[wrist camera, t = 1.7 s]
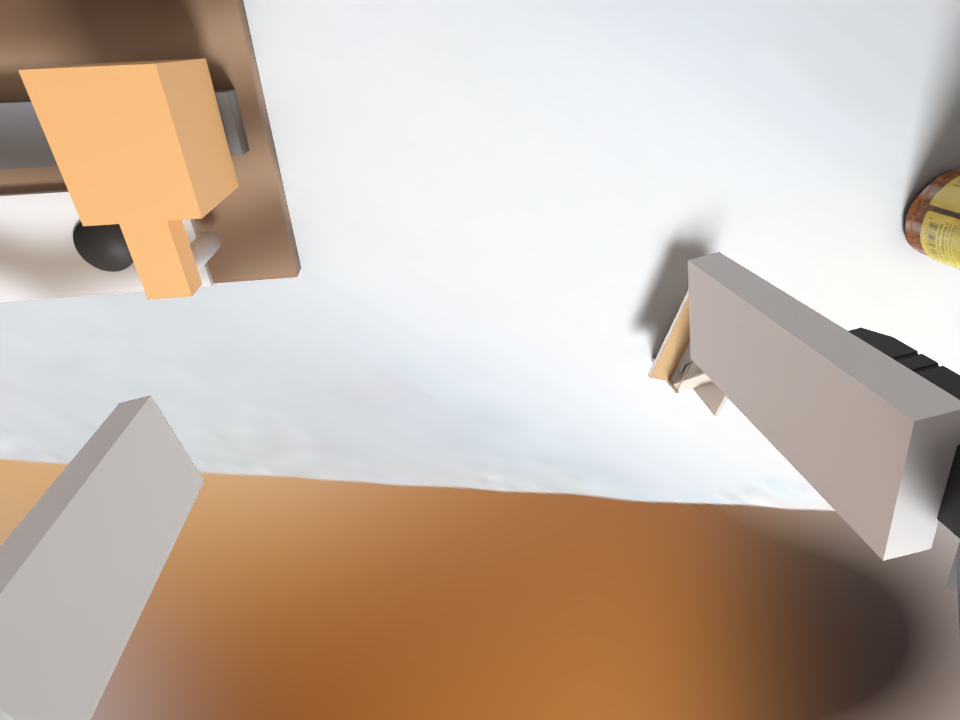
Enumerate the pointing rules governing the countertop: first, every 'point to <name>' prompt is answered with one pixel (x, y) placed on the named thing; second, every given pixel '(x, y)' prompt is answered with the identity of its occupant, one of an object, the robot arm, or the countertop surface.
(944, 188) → the sauce bottle
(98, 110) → the block
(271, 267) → the brown board with bar
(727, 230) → the countertop surface
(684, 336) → the architectural model
